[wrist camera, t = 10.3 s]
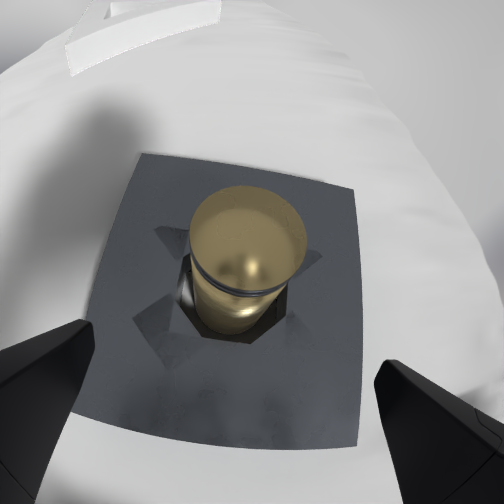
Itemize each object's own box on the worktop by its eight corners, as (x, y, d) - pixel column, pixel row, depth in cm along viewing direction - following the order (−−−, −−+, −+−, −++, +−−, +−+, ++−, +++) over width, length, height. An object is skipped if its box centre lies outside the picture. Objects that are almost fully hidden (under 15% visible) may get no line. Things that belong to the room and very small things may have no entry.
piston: (224, 349, 20) (241, 316, 11) (180, 293, 21) (165, 220, 12) (277, 306, 22) (329, 245, 13) (234, 256, 23) (256, 169, 14)
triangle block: (218, 25, 44) (222, -2, 39) (157, 85, 32) (156, 44, 27) (95, 21, 43) (93, -1, 37) (15, 82, 31) (6, 54, 26)
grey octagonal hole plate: (337, 440, 18) (356, 446, 15) (87, 409, 16) (70, 411, 13) (340, 208, 27) (353, 189, 24) (146, 176, 25) (142, 153, 22)
